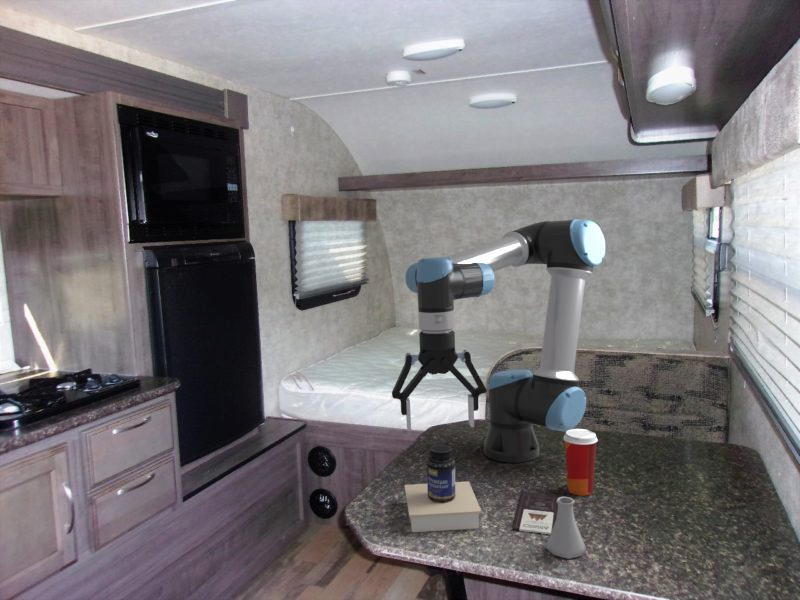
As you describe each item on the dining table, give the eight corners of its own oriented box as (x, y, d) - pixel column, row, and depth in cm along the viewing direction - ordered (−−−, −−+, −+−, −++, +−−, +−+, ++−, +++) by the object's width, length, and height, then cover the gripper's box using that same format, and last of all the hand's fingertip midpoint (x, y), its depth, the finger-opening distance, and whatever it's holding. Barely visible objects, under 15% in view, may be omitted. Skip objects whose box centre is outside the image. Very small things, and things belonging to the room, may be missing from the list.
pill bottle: (424, 501, 128) (423, 452, 127) (431, 490, 134) (429, 442, 132) (453, 504, 126) (452, 454, 125) (458, 492, 132) (457, 444, 131)
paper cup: (584, 481, 145) (584, 426, 143) (604, 494, 138) (604, 436, 136) (556, 487, 143) (556, 430, 141) (575, 500, 135) (575, 440, 134)
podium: (469, 497, 138) (468, 481, 138) (481, 529, 123) (481, 511, 123) (405, 501, 137) (404, 484, 137) (409, 533, 122) (409, 515, 122)
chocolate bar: (561, 495, 137) (557, 533, 120) (561, 499, 137) (557, 538, 120) (522, 491, 140) (512, 528, 122) (522, 495, 140) (512, 532, 123)
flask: (562, 536, 120) (561, 488, 119) (593, 550, 114) (593, 500, 113) (538, 548, 115) (538, 499, 114) (569, 564, 110) (569, 512, 109)
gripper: (378, 336, 121) (383, 436, 124) (498, 330, 123) (501, 429, 125) (377, 330, 129) (382, 424, 131) (491, 324, 130) (493, 418, 133)
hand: (440, 427), depth 128 cm, fingers open, 13 cm apart
